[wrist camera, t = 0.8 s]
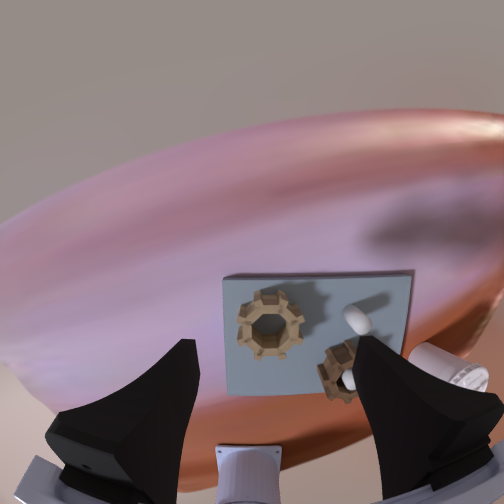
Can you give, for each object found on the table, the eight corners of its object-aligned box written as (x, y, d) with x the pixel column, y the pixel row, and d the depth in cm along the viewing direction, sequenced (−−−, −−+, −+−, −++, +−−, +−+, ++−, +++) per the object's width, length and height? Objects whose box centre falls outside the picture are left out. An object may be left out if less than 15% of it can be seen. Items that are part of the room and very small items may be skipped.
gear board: (389, 376, 26) (407, 398, 21) (228, 388, 26) (224, 416, 22) (405, 273, 25) (431, 283, 20) (223, 277, 25) (217, 290, 20)
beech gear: (297, 344, 24) (302, 359, 21) (239, 345, 24) (237, 361, 21) (299, 289, 24) (306, 298, 21) (237, 289, 24) (235, 299, 21)
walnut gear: (372, 372, 25) (383, 387, 22) (325, 394, 25) (332, 411, 22) (361, 332, 24) (373, 344, 21) (310, 355, 24) (317, 370, 21)
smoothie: (449, 339, 26) (523, 391, 12) (422, 383, 26) (482, 448, 12) (417, 324, 25) (500, 383, 11) (388, 373, 26) (450, 451, 12)
